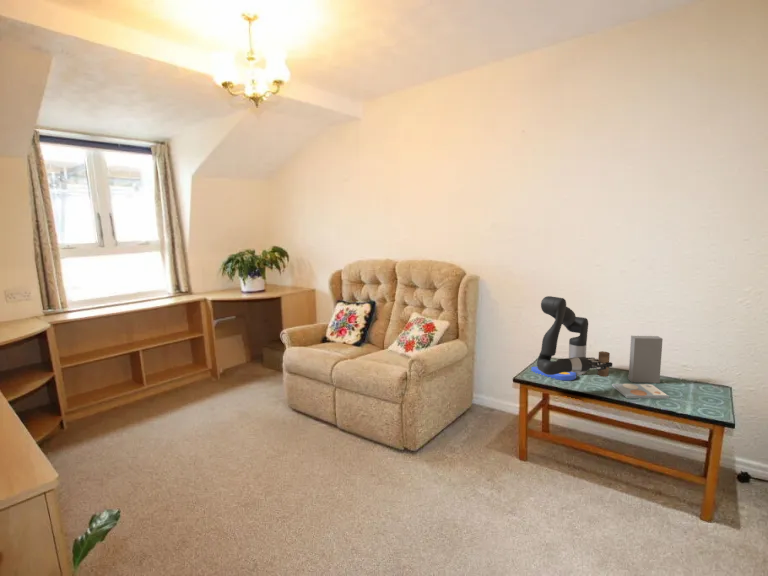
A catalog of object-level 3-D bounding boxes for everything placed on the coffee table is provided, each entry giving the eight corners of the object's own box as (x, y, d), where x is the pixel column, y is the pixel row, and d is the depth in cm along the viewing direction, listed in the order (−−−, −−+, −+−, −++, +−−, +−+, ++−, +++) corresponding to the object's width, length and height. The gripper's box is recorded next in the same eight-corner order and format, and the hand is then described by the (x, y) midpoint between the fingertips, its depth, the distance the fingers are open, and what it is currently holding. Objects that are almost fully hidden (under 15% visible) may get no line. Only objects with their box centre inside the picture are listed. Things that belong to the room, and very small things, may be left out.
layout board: (612, 385, 223) (612, 383, 222) (651, 386, 221) (651, 383, 220) (626, 397, 207) (626, 394, 207) (668, 398, 205) (669, 395, 205)
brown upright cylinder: (596, 373, 218) (597, 351, 216) (605, 373, 218) (607, 351, 216) (600, 376, 213) (601, 354, 211) (610, 376, 213) (611, 354, 211)
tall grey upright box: (654, 379, 230) (657, 335, 227) (659, 383, 224) (663, 338, 221) (627, 378, 233) (630, 335, 229) (632, 382, 227) (634, 338, 223)
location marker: (527, 374, 245) (572, 382, 229) (527, 369, 244) (572, 376, 228) (535, 368, 255) (578, 376, 239) (535, 363, 254) (578, 370, 238)
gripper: (585, 362, 206) (617, 360, 207) (570, 353, 220) (600, 351, 221) (584, 376, 207) (616, 374, 208) (569, 366, 221) (600, 365, 222)
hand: (608, 362), depth 215 cm, fingers closed on brown upright cylinder, 5 cm apart
